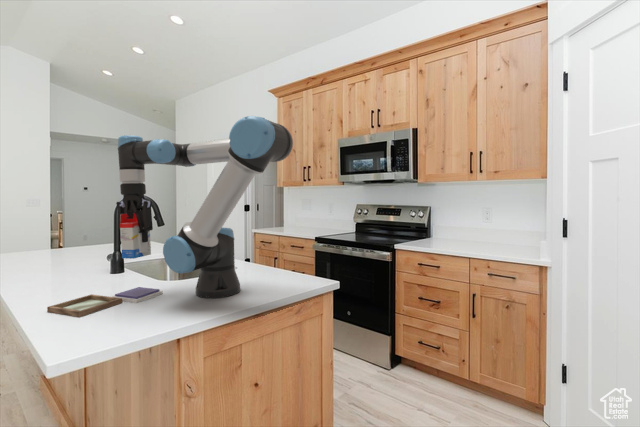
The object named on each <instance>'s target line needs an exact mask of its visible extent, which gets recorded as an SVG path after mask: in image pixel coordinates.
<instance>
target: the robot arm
mask: <svg viewBox="0 0 640 427" xmlns="http://www.w3.org/2000/svg"><path fill="white" fill-rule="evenodd" d="M293 146H294V139H293V136H292V134H291V132H290V131H289V129H288V128H286V127H285V126H284V125H282V124H280V123H277V122H274V121H271V120H269V119H267V118H265V117H262V116H254V115H248V116H243V117H242V118H240V119H238V120H237V121H236V122H235V123H234V124H233V126H232V127H231V129H230V131H229V136H228V138H223V139H217V140H215V139H214V140H208V141H207V140H206V141H200V142H199V141H198V142H192V143H184V144H182V143H181V144H180V143H174V142H171V141H170V140H168V139H165V138H164V139H160V138H155V139H151V140H144V139H143V137H141V136H139V135H131V134H130V135H129V134H128V135H120V136H119V137H118V139H117V151H118V152H117V153H118V154H117V155H118V167H119V182H120V194H121V195H122V196H123V198H122V200H121V201H116V207H117V221H118V222H117V223H118V228H117V229H118V231H119V232H120V215H121V214H127V215H128V216H129V217H127V219H133V215H134V213H135V214H136V218H137V221H138V225H139V229H140V232H139V233H138V237H139V253H142V252H147V251H148V249H147V242H148V232H149V231H150V232H151V231H153V229H154V228H153V217H152V216H153V215H152V213H153V212H152V205H153V201H152V200H146V198H145V195H146V194H147V190H146V184H145V182H146V174H145V173H146V171H145V165H154V164H155V165H156V164H157V165H166V166H167V165H168V166H180V167H186V168H187V167H195V166H197V165H207V164H215V163H218V164H219V163H226V164H225V165H224V167H223V169H222V170H221V172H220V173H219V176H218V177H217V179H216V181H215V183H214V184H213V185H212V186H211V187H212V188H211V189H210V190H209V192H208V193H207V196H206V197H205V199H204V201H203V203H202V204H201V206H200V207H199V209H198V211H197V212H196V214H195V216H194V217H193V219H192V221H188V222H185V223H184V224H183V226H182V228H181V229H180V230H179V233H178V234H177V235H171V236H169V237H168V238H167V239H166V240H165V241H164V244H163V247H162V255H163V259H164V262H165V264H166V265H167V266H168V268H169V269H170V270H171V271H173V272H175V273H176V274H187V273H191V272H194V271H196V270H200V272H199V274H198V279H197V282H196V283H197V284H196V285H195V295H196V296H198V297H200V298H206V299H216V298H217V299H218V298H226V297H230V296H234V295H236V294H238V293H240V292H241V283H240V280H239V278H238V274H237V273H236V269H235V268H236V267H235V265H236V264H235V237H234V231H233V229H232V228H231V227H223V226H224V225H225V223H226V222H227V220H228V218H229V217H230V215H231V214H232V212H233V210H234V209H235V208H236V206H237V205H238V202H239V201H240V200H241V199H242V197H243V195H244V193H245V192H246V190H247V188H248V187H249V185H250V184H251V182H252V181H253V179H254V178H255V176H256V175H259V174H263V173H264V171H265V170H266V169H267V167H268V165H269V163H271V162H272V163H277V162H281V161H284V160H285V159H287V157H289V156H290V154H291V152H292V150H293ZM143 228H144V229H143Z"/></svg>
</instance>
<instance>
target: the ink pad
mask: <svg viewBox="0 0 640 427" xmlns="http://www.w3.org/2000/svg"><path fill="white" fill-rule="evenodd" d="M163 292H164V291H163V290H160V289H159V288H151V287H140V286H138V287H134V288H131V289H128V290H124V291H121V292H118V293H115V294H114V295H113V296H111V297H116V298H122V302H128V303H134V304H137V303H141V302H143V301H146V300H149V299H152V298H155V297H158V296H160V295H163Z"/></svg>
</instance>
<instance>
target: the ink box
mask: <svg viewBox="0 0 640 427" xmlns="http://www.w3.org/2000/svg"><path fill="white" fill-rule="evenodd" d="M127 217H129V216H128V215H127V214H121V215H120V231H119V232H120V242H121V243H120V246H121V247H120V248H121V258H122V259H124V260H126V259H128V260H129V259H130V260H131V259H138V258H142V257H147V256H151V255H152V249H151V248H152V247H151V231H149V232H148V242H147V249H148V251H147V252H142V253H139V237H138V233H139V232H140V229H139V225H138V221H137V218H136V214H135V213H134V215H133V219H127ZM143 229H144V228H143Z"/></svg>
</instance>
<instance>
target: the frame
mask: <svg viewBox="0 0 640 427" xmlns="http://www.w3.org/2000/svg"><path fill="white" fill-rule="evenodd" d="M120 304H121V305H122V304H123V301H122V298H116V297H112V296H107V295H100V294H92V293H91V294H89V295H84V296H81V297H78V298H73V299H70V300H68V301H63V302H60V303H57V304H54V305H49V306H47V307H46V309H47V310H46V311H47V313H53V314H56V315H57V314H58V315H62V316H63V315H64V316H72V317H75V316H76V318H81V317H84V316H88V315H91V314H94V313H97V312H99V311H102V310H106V309H108V308H111V307H114V306H117V305H120Z"/></svg>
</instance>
